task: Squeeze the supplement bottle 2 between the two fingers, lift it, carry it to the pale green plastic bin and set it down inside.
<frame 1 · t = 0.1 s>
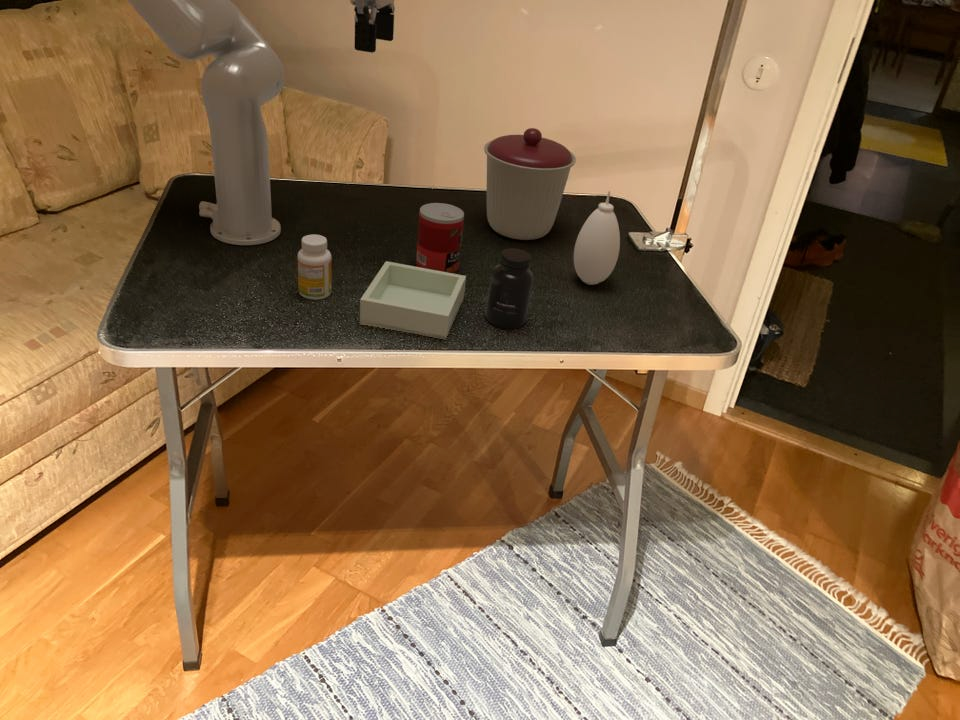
hand: (374, 45, 118), 37 cm above the table, tool pointing down, fingers open, 9 cm apart
canned food: (437, 268, 137), on the table
supplement bottle: (505, 320, 125), on the table
bin: (413, 311, 123), on the table
air blower bulb: (589, 283, 139), on the table
supplement bottle 2: (315, 293, 125), on the table
canister: (518, 230, 155), on the table
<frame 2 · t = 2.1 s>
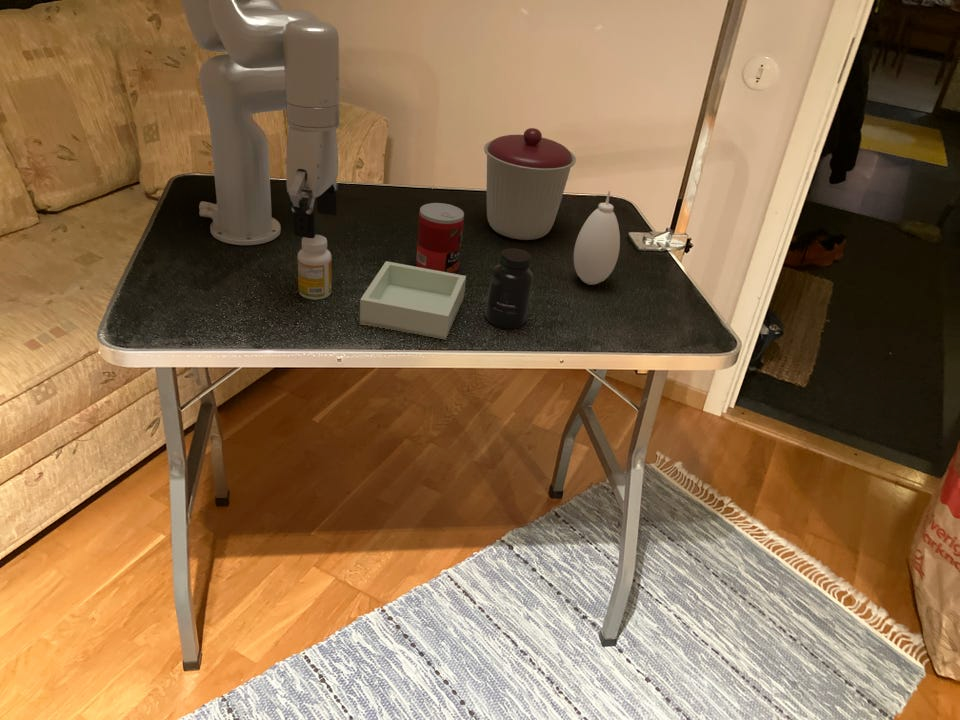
hand: (316, 224, 117), 13 cm above the table, tool pointing down, fingers open, 9 cm apart
nothing on the table moved.
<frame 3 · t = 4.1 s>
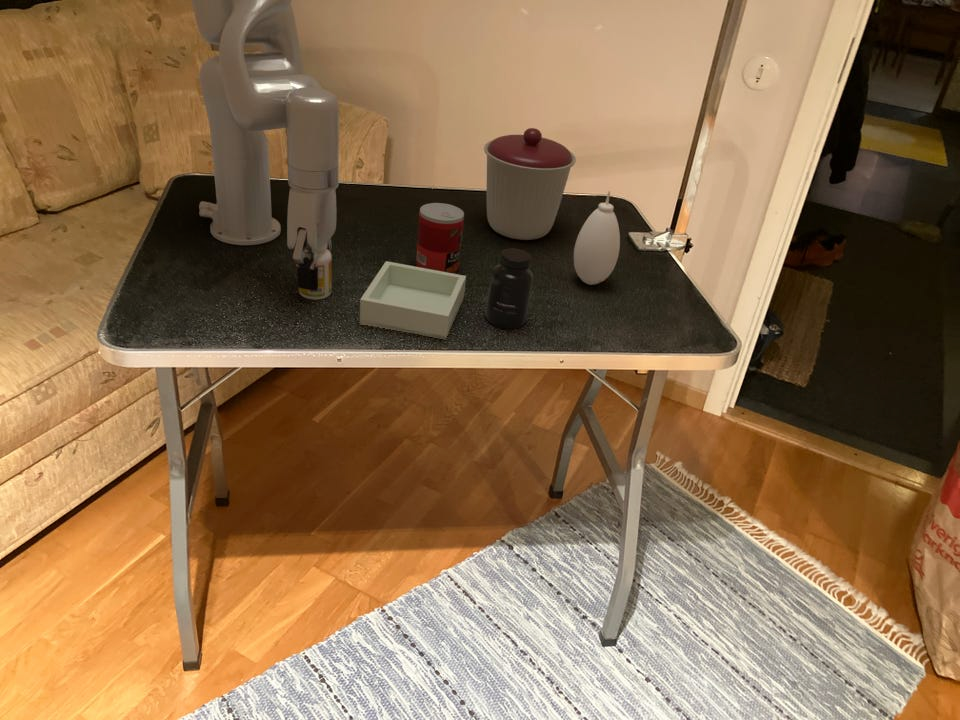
hand: (315, 279, 123), 2 cm above the table, tool pointing down, fingers closed on supplement bottle 2, 5 cm apart
supplement bottle 2: (315, 293, 125), on the table, touching gripper
everything else where it was.
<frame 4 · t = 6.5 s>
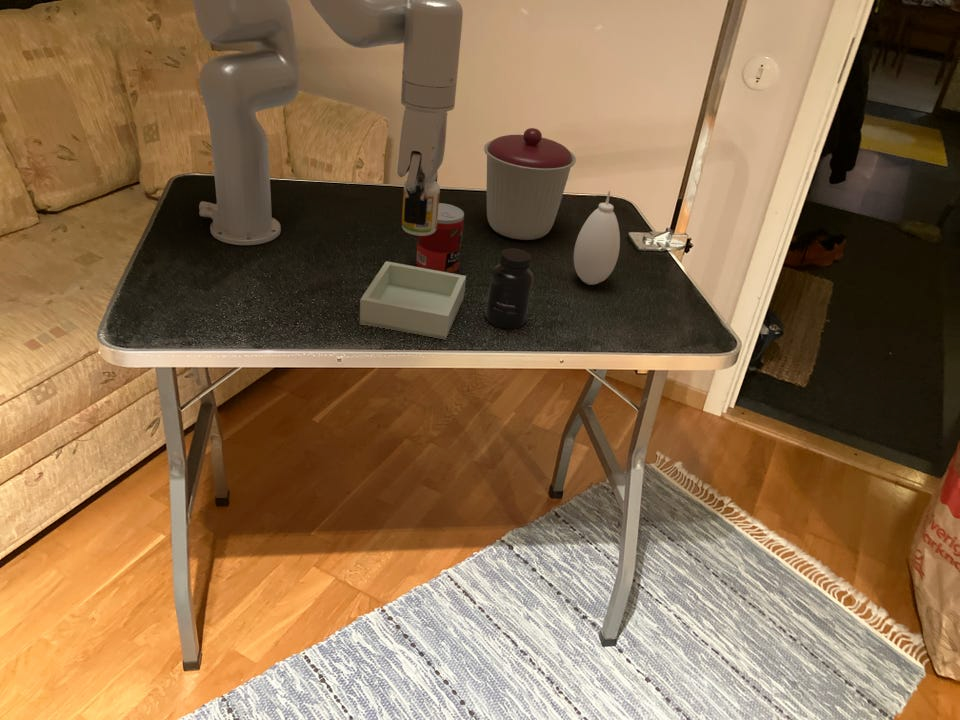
hand: (419, 214, 114), 17 cm above the table, tool pointing down, fingers closed on supplement bottle 2, 5 cm apart
supplement bottle 2: (418, 230, 115), point 14 cm above the table, touching gripper
everything else where it was.
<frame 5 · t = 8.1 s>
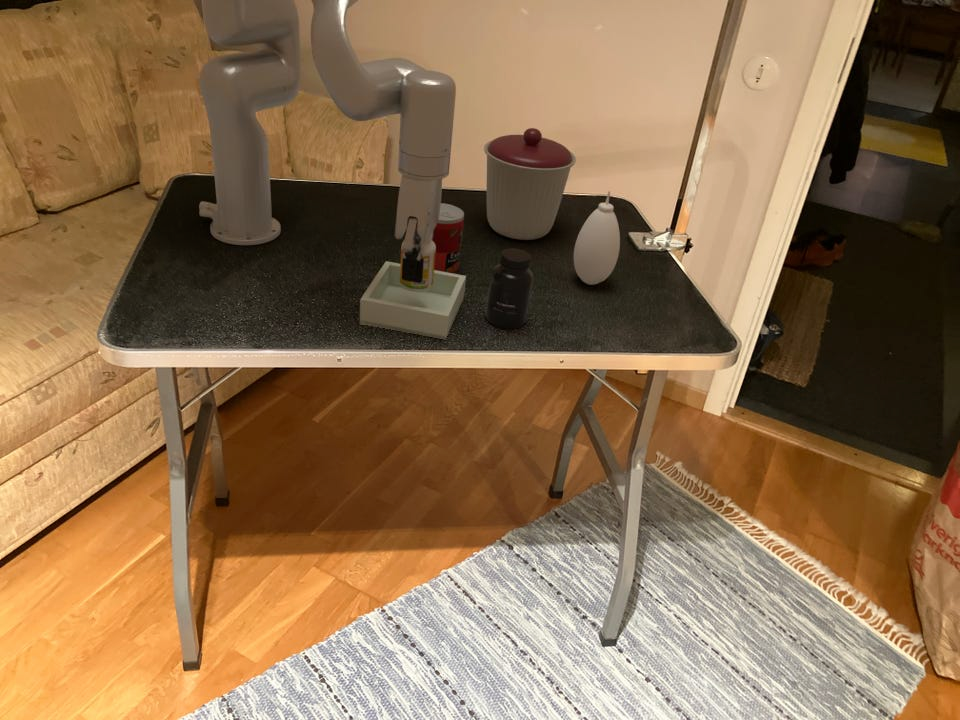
hand: (416, 271, 119), 7 cm above the table, tool pointing down, fingers closed on supplement bottle 2, 5 cm apart
supplement bottle 2: (416, 285, 121), point 5 cm above the table, touching gripper
everything else where it was.
when the fingers open (5 cm above the table, at t = 9.4 s): supplement bottle 2 drops 2 cm, resting on bin.
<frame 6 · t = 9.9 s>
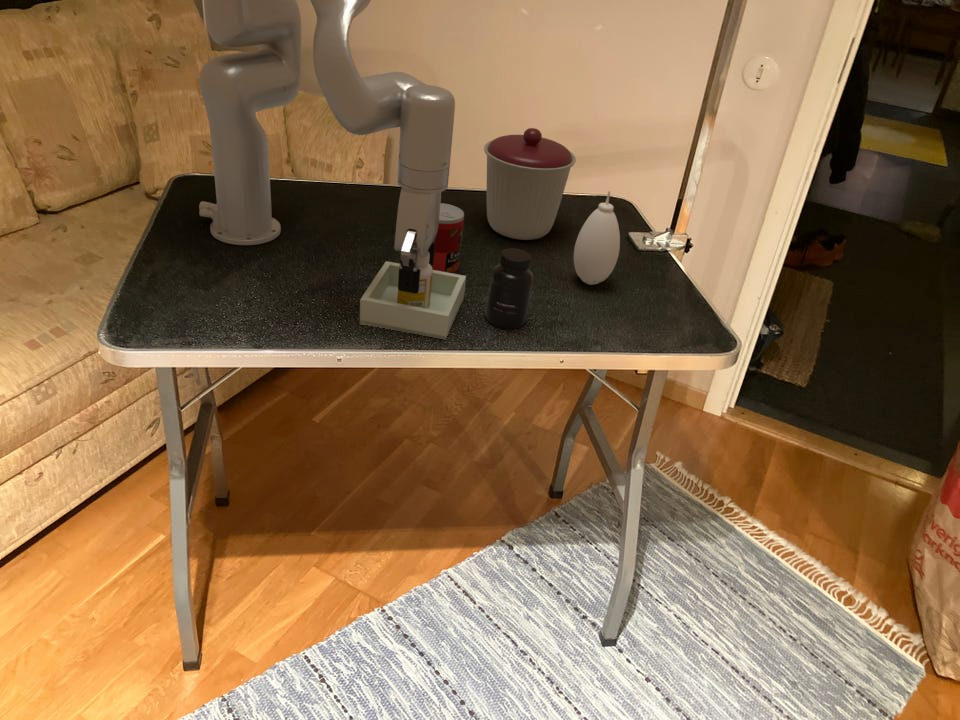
hand: (416, 277, 120), 6 cm above the table, tool pointing down, fingers open, 9 cm apart
supplement bottle 2: (413, 307, 123), point 1 cm above the table, touching bin
everything else where it was.
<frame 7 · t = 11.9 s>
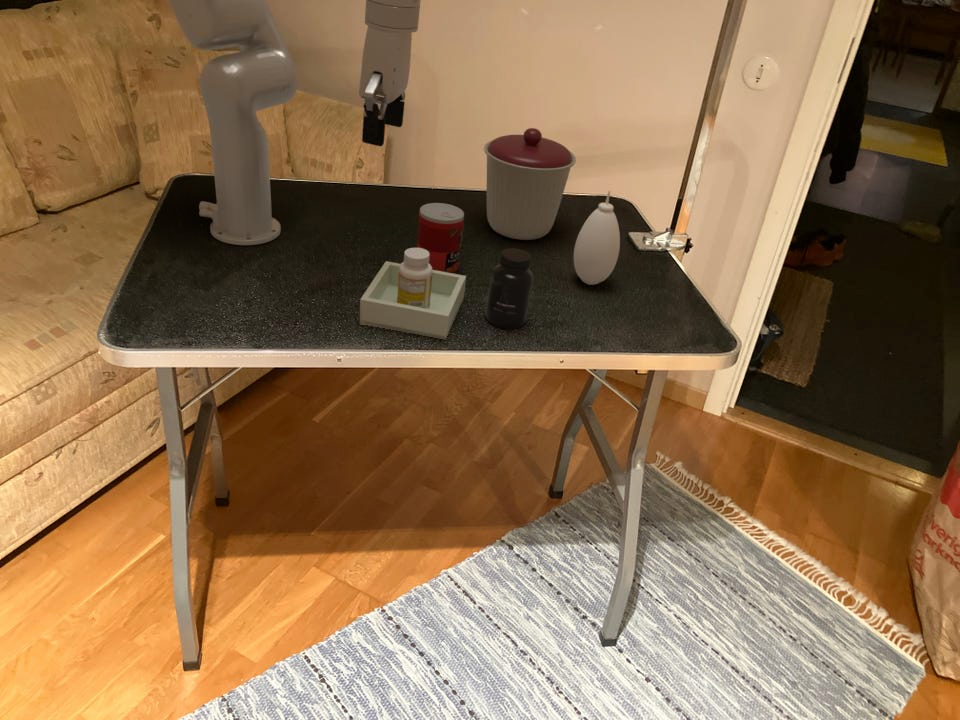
hand: (382, 134, 115), 26 cm above the table, tool pointing down, fingers open, 9 cm apart
nothing on the table moved.
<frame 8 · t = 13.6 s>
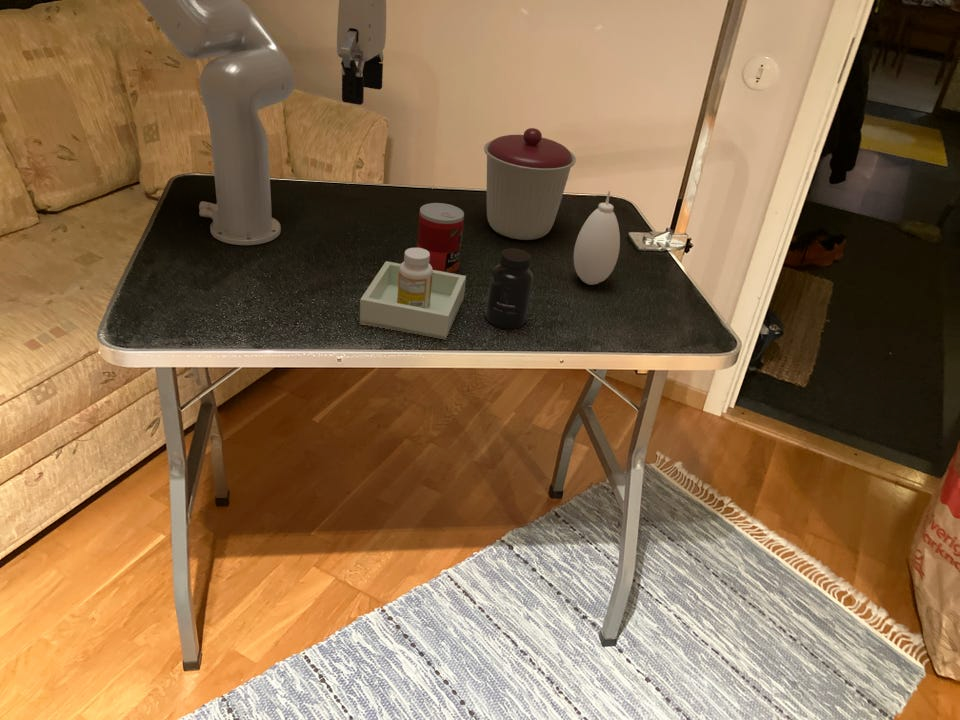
hand: (362, 95, 117), 30 cm above the table, tool pointing down, fingers open, 9 cm apart
nothing on the table moved.
at the end: supplement bottle 2 inside the target area on the bin (0.3 cm from its centre), point 0.6 cm above the bin's base; the gripper is holding nothing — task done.
